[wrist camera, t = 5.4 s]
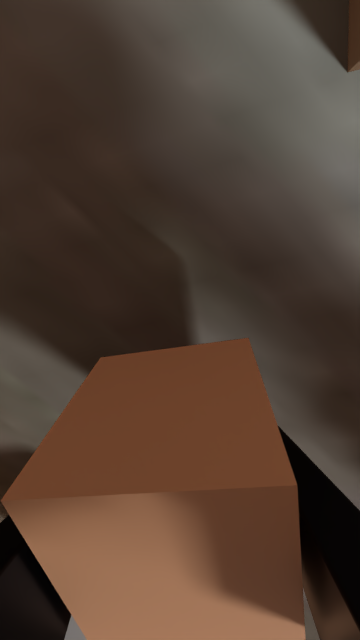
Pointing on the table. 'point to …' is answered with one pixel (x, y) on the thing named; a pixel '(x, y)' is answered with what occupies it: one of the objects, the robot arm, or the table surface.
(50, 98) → the table surface
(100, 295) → the table surface
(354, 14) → the walnut cube
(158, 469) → the terracotta cube
